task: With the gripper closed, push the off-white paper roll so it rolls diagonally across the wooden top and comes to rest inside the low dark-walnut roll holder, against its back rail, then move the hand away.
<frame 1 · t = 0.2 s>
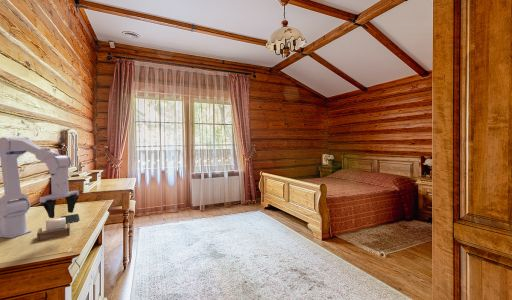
hand: (61, 215, 104), 10 cm above the table, tool pointing down, fingers open, 7 cm apart
paper roll: (56, 224, 116), point 2 cm above the table
roll holder: (54, 235, 108), on the table
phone: (70, 220, 130), on the table
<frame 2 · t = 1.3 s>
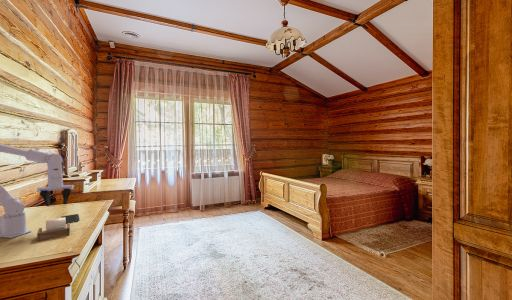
hand: (57, 204, 121), 10 cm above the table, tool pointing down, fingers open, 6 cm apart
nothing on the table moved.
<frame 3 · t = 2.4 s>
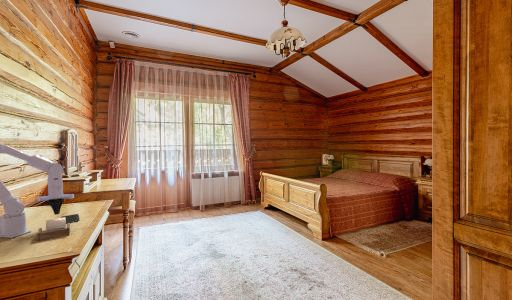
hand: (57, 213, 121), 6 cm above the table, tool pointing down, fingers closed
nothing on the table moved.
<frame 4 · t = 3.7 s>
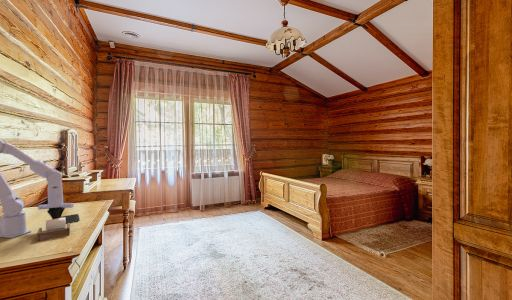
hand: (56, 222, 119), 2 cm above the table, tool pointing down, fingers closed
nothing on the table moved.
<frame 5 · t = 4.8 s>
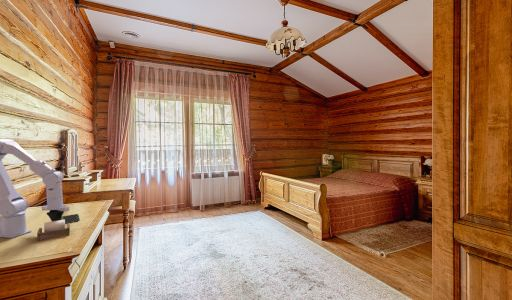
hand: (56, 225, 114), 2 cm above the table, tool pointing down, fingers closed
paper roll: (55, 226, 111), point 3 cm above the table, tilted 120°, touching gripper, roll holder
everything else where it was.
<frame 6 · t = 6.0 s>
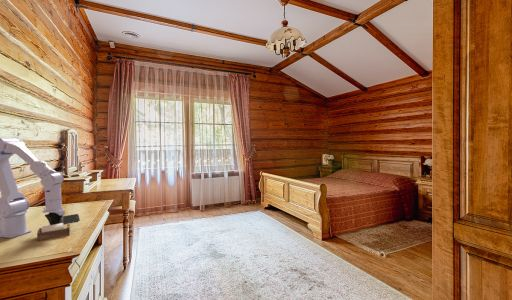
hand: (55, 228, 110), 2 cm above the table, tool pointing down, fingers closed
paper roll: (53, 230, 107), point 2 cm above the table, tilted 138°
everything else where it was.
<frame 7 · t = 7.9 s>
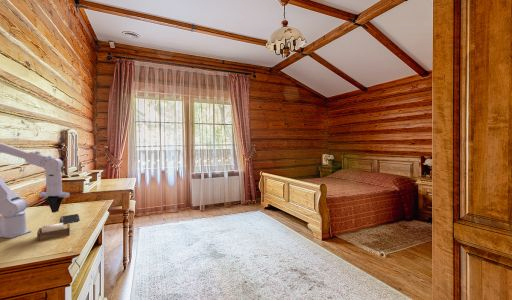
hand: (55, 212, 115), 8 cm above the table, tool pointing down, fingers closed
paper roll: (53, 230, 107), point 2 cm above the table, tilted 147°
everything else where it was.
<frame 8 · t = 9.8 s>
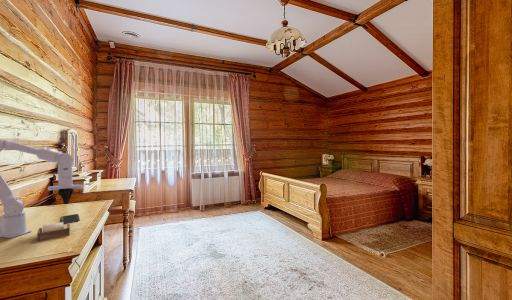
hand: (66, 203, 123), 10 cm above the table, tool pointing down, fingers closed
paper roll: (53, 229, 108), point 2 cm above the table, tilted 171°
everything else where it was.
at the end: paper roll 1.3 cm off-centre on the roll holder, point 2.4 cm above the roll holder's base; paper roll moved 8.9 cm from its start; the gripper is holding nothing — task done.
